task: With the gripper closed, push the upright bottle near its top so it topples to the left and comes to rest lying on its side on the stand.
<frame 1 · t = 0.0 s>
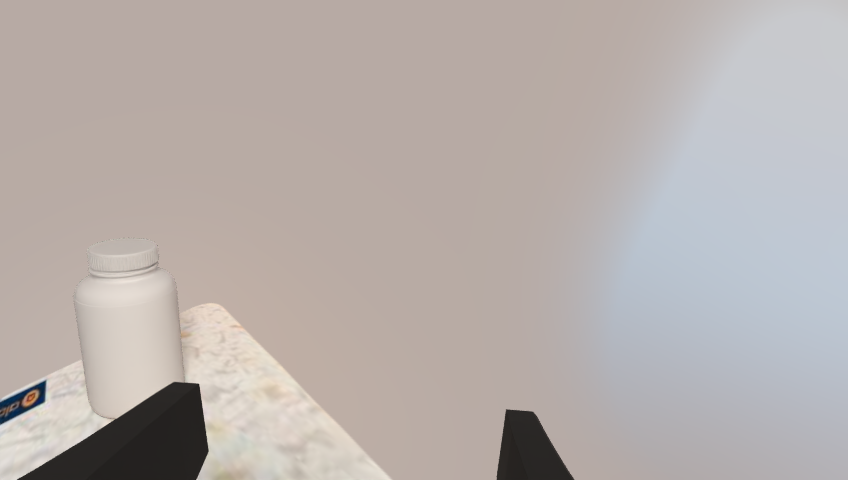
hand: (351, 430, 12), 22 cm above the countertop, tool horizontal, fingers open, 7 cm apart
pill bottle: (140, 397, 48), on the countertop
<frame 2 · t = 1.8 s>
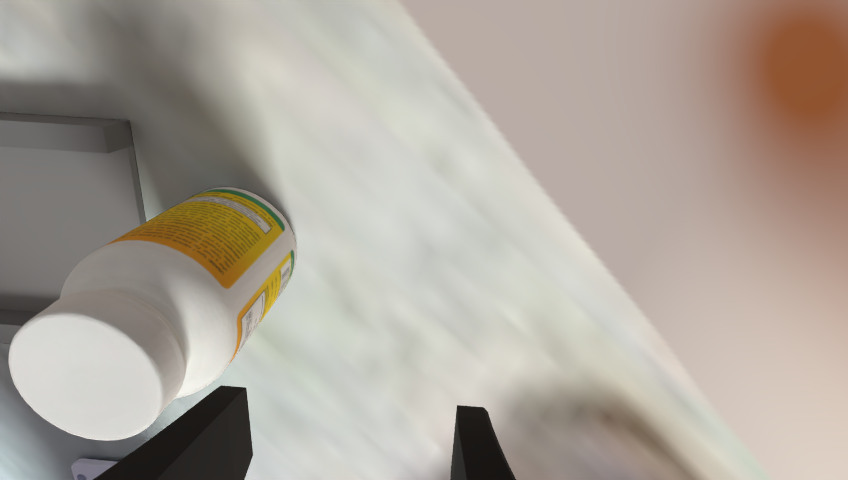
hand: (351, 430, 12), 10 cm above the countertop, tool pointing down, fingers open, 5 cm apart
supplement bottle: (240, 241, 22), on the countertop
stand: (26, 228, 22), on the countertop
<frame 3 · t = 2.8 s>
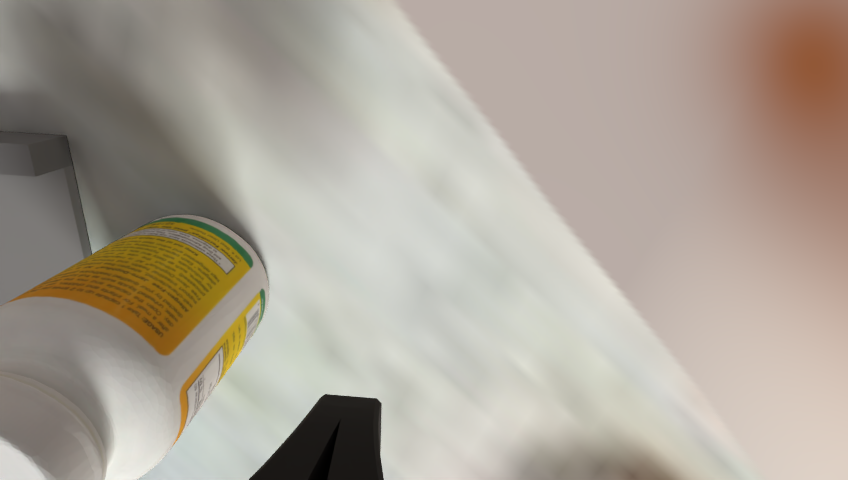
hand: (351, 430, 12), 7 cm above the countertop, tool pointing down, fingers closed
supplement bottle: (203, 276, 19), on the countertop
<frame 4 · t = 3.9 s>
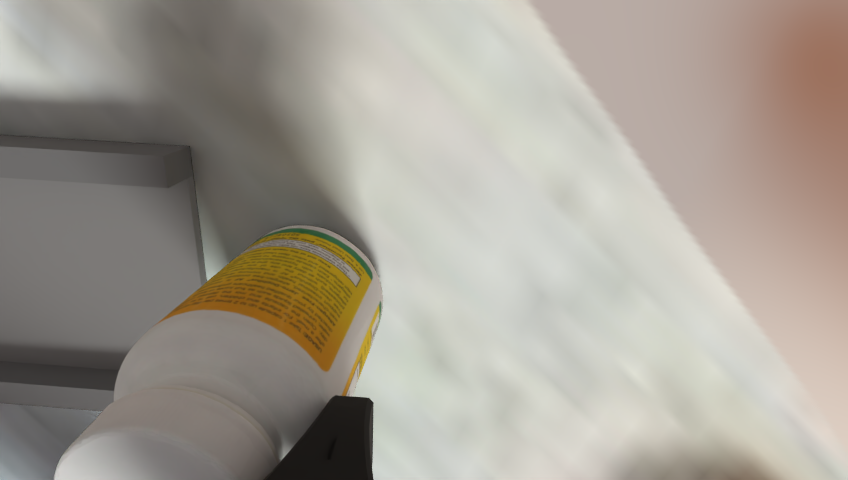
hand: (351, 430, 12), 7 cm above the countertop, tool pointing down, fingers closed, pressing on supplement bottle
supplement bottle: (314, 287, 18), on the countertop, touching gripper
stand: (62, 271, 19), on the countertop
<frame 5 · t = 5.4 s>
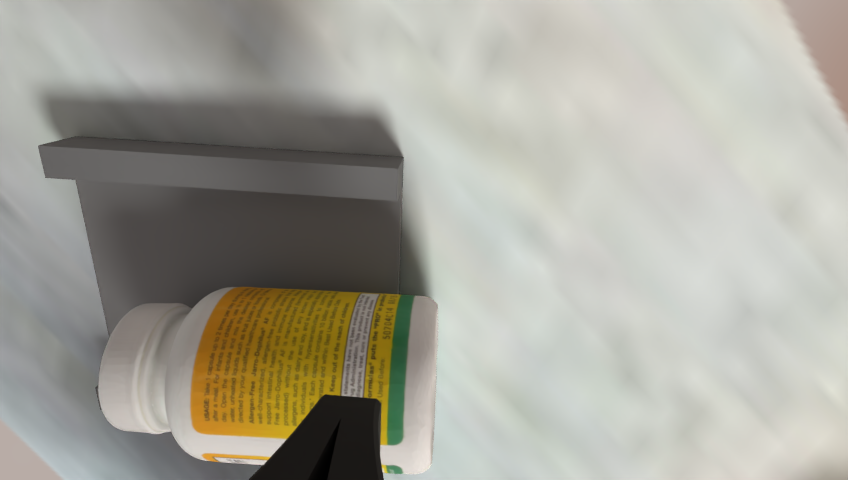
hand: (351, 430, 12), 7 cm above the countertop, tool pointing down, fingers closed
supplement bottle: (441, 380, 16), point 3 cm above the countertop, touching stand
stand: (249, 282, 18), on the countertop
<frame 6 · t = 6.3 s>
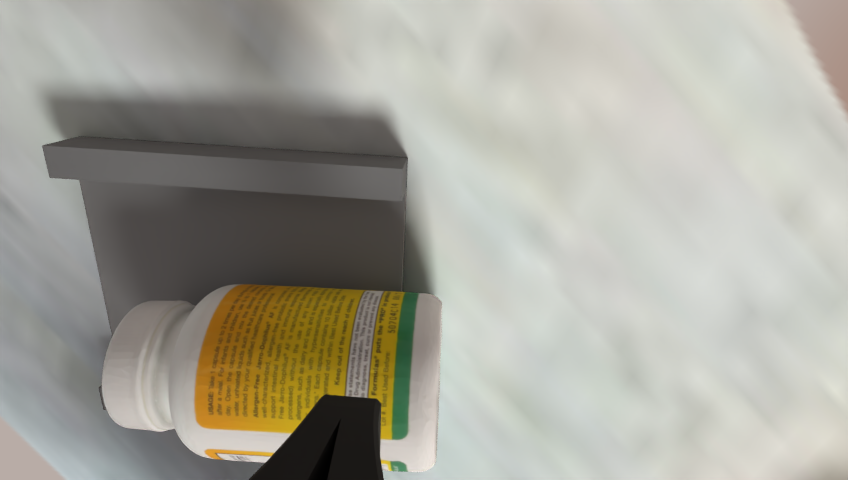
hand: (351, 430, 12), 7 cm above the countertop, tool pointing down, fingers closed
supplement bottle: (446, 378, 16), point 3 cm above the countertop, touching stand
stand: (252, 282, 18), on the countertop
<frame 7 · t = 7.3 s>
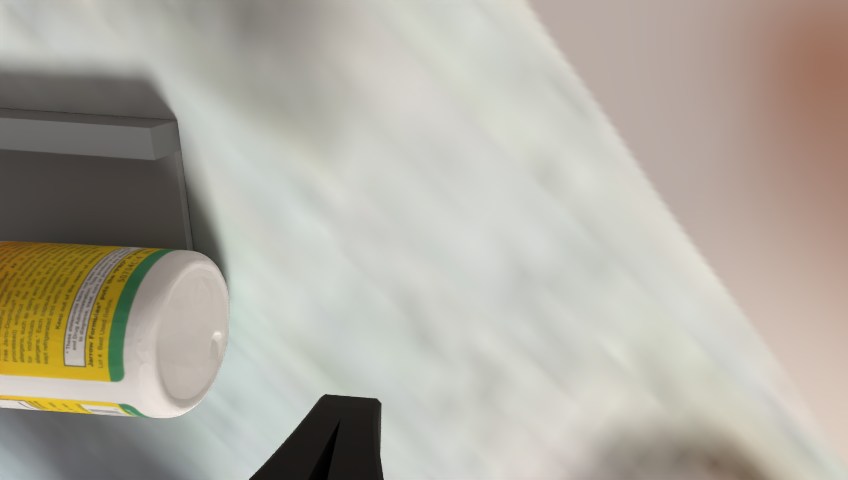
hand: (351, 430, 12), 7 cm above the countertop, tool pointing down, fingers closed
supplement bottle: (204, 331, 16), point 3 cm above the countertop, touching stand
stand: (52, 244, 19), on the countertop
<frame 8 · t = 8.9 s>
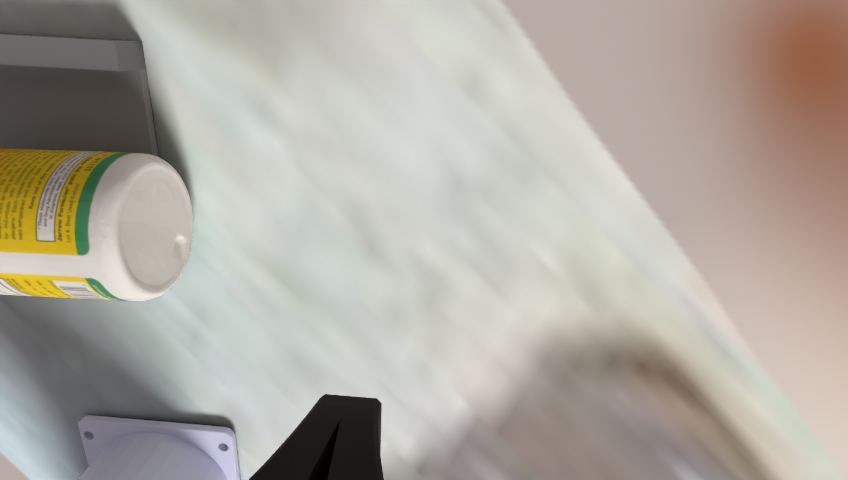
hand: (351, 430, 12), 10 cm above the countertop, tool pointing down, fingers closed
supplement bottle: (165, 227, 18), point 3 cm above the countertop, touching stand
stand: (32, 162, 21), on the countertop
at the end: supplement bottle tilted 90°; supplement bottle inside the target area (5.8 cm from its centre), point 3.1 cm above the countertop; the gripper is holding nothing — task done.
